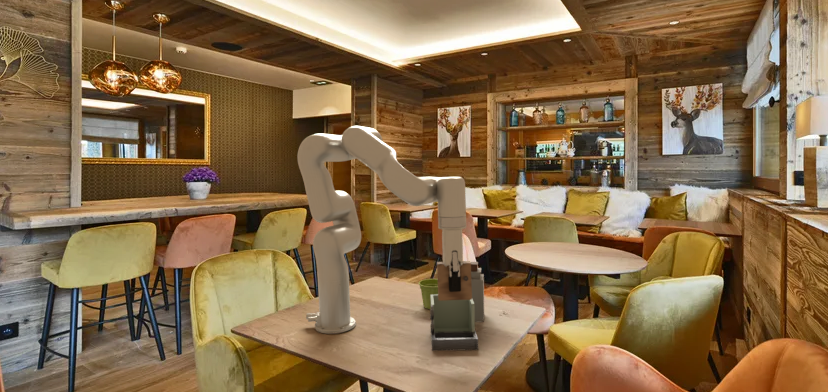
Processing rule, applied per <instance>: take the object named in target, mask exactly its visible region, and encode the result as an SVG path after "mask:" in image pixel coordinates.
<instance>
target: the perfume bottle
mask: <svg viewBox="0 0 828 392" xmlns="http://www.w3.org/2000/svg"><path fill="white" fill-rule="evenodd" d="M470 262H471V284H472V299H473V301H474V306H475V323H476V322H477V323H484V322H485V321H484V320H485V277H484V276H485V275H484V273H482V267H479V262H478V261H470Z"/></svg>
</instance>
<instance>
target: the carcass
mask: <svg viewBox="0 0 828 392" xmlns="http://www.w3.org/2000/svg"><path fill="white" fill-rule="evenodd" d="M431 306H433V310H434V319H433V324H434V333H435V331H472V332H475V331H476V330H475V329H476V326H475V325H476V322H475V306H474V301H473V299H472V300H443V301H439V300H438V294H434V295H431Z"/></svg>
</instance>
